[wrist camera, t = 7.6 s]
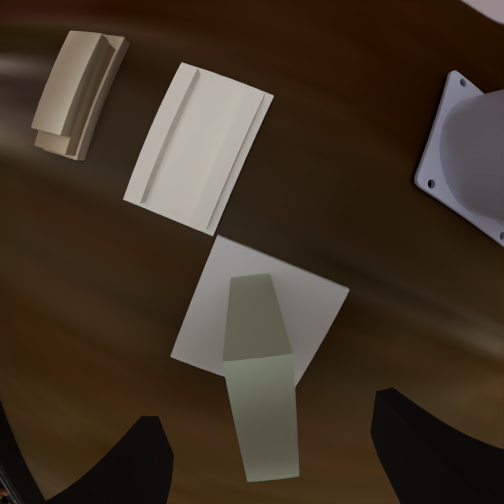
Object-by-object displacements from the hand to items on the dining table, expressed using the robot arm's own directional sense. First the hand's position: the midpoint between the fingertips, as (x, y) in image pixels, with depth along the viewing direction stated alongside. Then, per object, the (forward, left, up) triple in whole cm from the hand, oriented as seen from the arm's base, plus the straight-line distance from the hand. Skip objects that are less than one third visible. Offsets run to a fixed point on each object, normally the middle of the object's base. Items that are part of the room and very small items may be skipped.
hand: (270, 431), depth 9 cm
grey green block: (0, 0, -8) cm, 8 cm away
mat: (0, 0, -9) cm, 9 cm away
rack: (+7, -7, -9) cm, 13 cm away
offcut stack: (+14, -8, -9) cm, 18 cm away
